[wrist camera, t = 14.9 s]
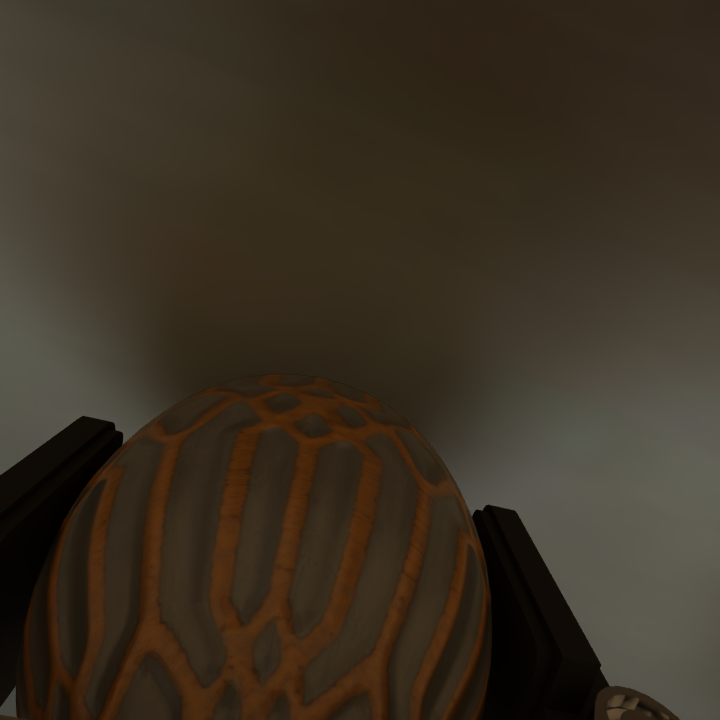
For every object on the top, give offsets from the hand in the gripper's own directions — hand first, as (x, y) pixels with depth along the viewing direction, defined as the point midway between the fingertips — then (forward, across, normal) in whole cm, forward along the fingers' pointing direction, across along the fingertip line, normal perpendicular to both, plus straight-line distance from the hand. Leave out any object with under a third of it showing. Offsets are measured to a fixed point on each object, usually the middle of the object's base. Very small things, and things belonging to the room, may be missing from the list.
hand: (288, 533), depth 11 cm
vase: (+2, 0, 0) cm, 2 cm away
